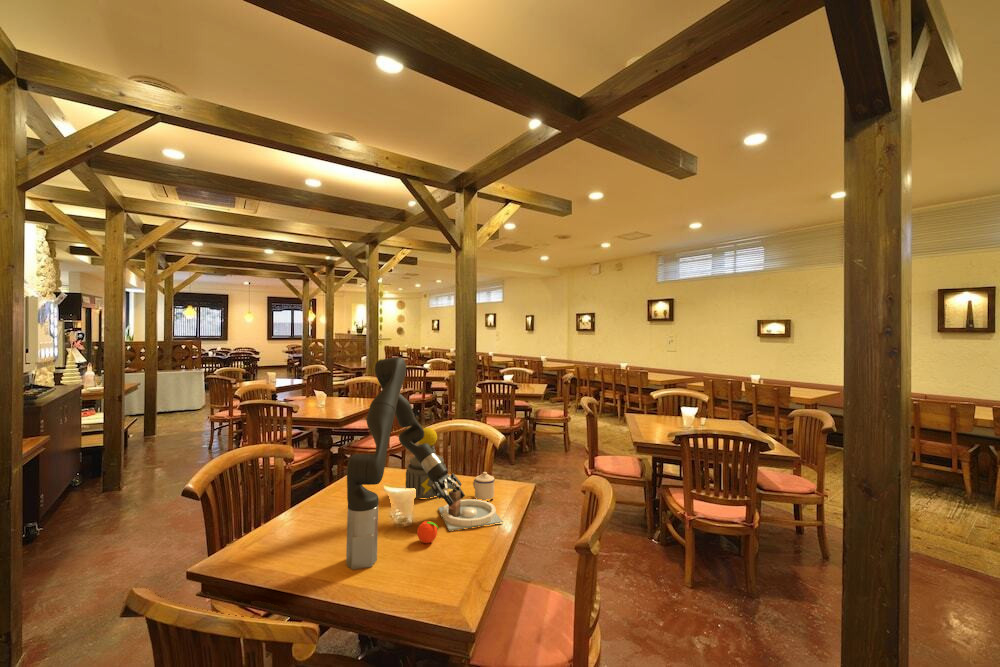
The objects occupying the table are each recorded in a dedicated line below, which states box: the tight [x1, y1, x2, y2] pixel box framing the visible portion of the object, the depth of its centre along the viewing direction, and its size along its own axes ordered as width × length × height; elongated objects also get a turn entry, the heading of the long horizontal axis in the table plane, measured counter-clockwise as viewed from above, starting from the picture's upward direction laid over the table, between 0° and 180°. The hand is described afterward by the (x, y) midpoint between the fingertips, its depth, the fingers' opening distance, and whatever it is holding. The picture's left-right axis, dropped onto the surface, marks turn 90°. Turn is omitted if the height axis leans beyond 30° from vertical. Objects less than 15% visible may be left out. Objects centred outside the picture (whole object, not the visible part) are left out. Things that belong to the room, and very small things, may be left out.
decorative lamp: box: [404, 427, 447, 498], centre depth 187 cm, size 19×19×30 cm
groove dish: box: [437, 498, 504, 532], centre depth 161 cm, size 21×21×3 cm
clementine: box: [416, 520, 439, 544], centre depth 139 cm, size 8×7×7 cm
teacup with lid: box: [472, 471, 495, 500], centre depth 182 cm, size 12×9×12 cm
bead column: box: [448, 488, 462, 517], centre depth 159 cm, size 3×3×11 cm
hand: (457, 500), depth 158 cm, fingers open, 8 cm apart
